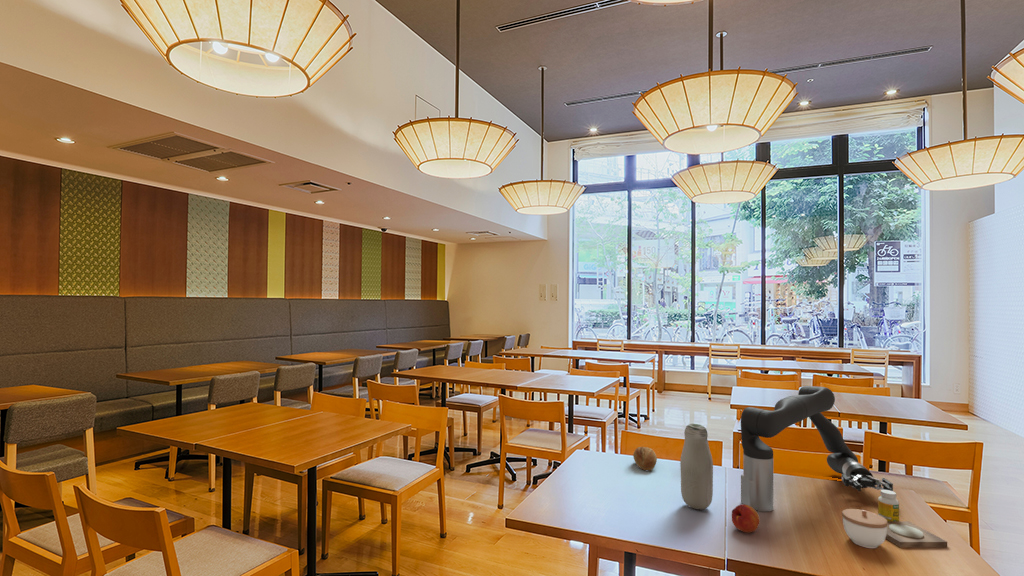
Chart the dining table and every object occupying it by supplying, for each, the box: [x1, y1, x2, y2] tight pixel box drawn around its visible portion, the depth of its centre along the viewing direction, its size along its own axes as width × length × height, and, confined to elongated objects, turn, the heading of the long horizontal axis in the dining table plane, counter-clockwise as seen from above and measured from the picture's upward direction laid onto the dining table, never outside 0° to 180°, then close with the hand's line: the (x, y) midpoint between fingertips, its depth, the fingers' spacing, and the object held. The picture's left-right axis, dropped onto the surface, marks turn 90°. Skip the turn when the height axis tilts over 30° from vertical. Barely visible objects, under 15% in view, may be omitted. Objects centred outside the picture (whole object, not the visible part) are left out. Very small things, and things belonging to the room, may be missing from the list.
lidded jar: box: [841, 508, 888, 549], centre depth 140 cm, size 11×11×9 cm
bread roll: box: [632, 446, 658, 471], centre depth 205 cm, size 10×15×8 cm, turn 170°
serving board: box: [885, 520, 948, 548], centre depth 145 cm, size 14×13×2 cm
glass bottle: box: [679, 423, 714, 511], centre depth 164 cm, size 10×10×28 cm
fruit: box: [731, 503, 761, 534], centre depth 147 cm, size 8×8×8 cm
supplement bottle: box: [877, 489, 900, 521], centre depth 155 cm, size 5×5×10 cm
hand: (874, 489), depth 165 cm, fingers open, 8 cm apart
